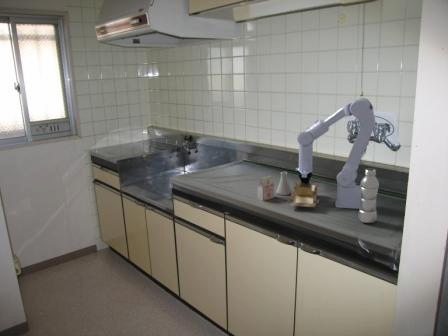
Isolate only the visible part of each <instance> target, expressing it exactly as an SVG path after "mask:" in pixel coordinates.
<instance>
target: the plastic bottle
mask: <svg viewBox="0 0 448 336" xmlns="http://www.w3.org/2000/svg"><path fill="white" fill-rule="evenodd" d="M376 175H377V169H375V168H372V167H371V168H368V167H367V168H365V169H364V177H362V179H361V180H360V186H361V203H360V209H359V210H358V214H357V215H358V220H359V221H360V222H361V223H365V224H374V223H375V222H376V220H377V217H378V214H377V213H378V212H377V197H378V191H379V187H380V183H379V180H378V178H377V177H376Z"/></svg>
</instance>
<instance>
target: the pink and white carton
mask: <svg viewBox="0 0 448 336" xmlns="http://www.w3.org/2000/svg"><path fill="white" fill-rule="evenodd" d="M256 186H257V189H256V191H257V198H256V199H257V200H260V201H262V202H264V201H268V200H272V199H275V184H274V179H273V176H272V175H268V176H264V177H260V178H259V181H258V184H257V185H256Z"/></svg>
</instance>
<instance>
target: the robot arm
mask: <svg viewBox="0 0 448 336" xmlns="http://www.w3.org/2000/svg"><path fill="white" fill-rule="evenodd" d="M351 116H353V117H354V118H355V119H357V121H358V122H359V124H360V127H359V130H358V133H357V135H356V138H355V140H354V143H353V145H352V147H351V149H350V152H349V155H348V158H347V160H346V162H345V164H344V165H343V167H342V169H341V171H340V172H339V173H337V175H336V182H337V185H336V186H337V187H336V189H337V190H336V200H335V201H334V202H335V208H340V209H342V208H343V209H354V210H355V209H357V210H358V209H360V204H361V186H360V185H357V183H356V181H355V180H356V179H357V177H358V169H359V165H360V163H361V160H362V157H363V155H364V152H365V151H366V148H367V145H368V144H369V141H370V139H371V136H372V134H373V131H374V129H375V126H376V124H377V121H376V118H375V112H374V106H373V104H372V103H371V102H370V100H369V99H367V98H365V97H362V98H359V99H355V100H354V101H352V102H350V103H348V104H346V105H344V106H342V107H341V108H339V109H338V110H337V111H335V112H334V113H332V114H331V115H330V116H329V117H327V118H326V119H325V120H324V119H319V120H316V121H314V123H313V124H312V125H311V126H309V127H306V128H305V130H304V131H301V132H300V133H299V134H298V135H297V142H298V144H299V145H298V146H299V147H298V167H296V168H295V171H296V172H297V171H298V172H299V173H298V174H297V175H298V179H299V180H300V182H302V183H310V181H311V179H312V175H313V169H314V168H313V155H314V154H313V153H314V151H313V150H314V148H313V147H314V141H315V140H317V139H319V138H320V137H322V136H323V135H325V134H326V133H328V132H329V130H330V126H332V125H334V124H336V123H337V122H338V121H340V120H342V119H343V118H345V117H351Z"/></svg>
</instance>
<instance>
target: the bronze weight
mask: <svg viewBox="0 0 448 336" xmlns="http://www.w3.org/2000/svg"><path fill="white" fill-rule="evenodd" d="M312 185H313V183H312V182H309V183H302V182H301V181H300V182H298V181H297V196H308V197H311V194H312Z"/></svg>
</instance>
